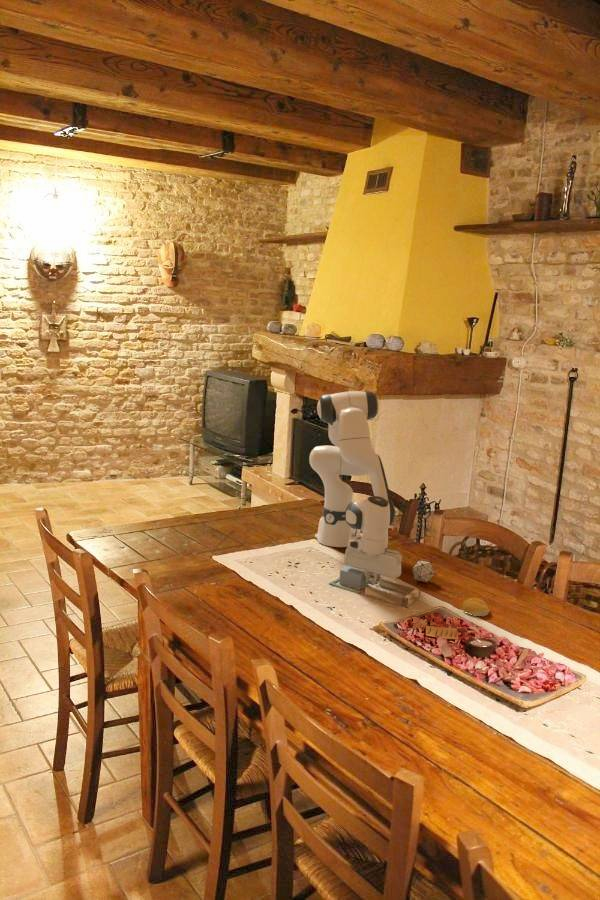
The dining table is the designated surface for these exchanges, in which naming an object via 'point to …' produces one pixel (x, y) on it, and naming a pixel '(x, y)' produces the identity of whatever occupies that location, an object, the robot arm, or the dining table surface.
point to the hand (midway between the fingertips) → (370, 583)
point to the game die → (423, 571)
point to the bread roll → (475, 607)
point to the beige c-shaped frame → (404, 601)
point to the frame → (343, 586)
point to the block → (352, 577)
